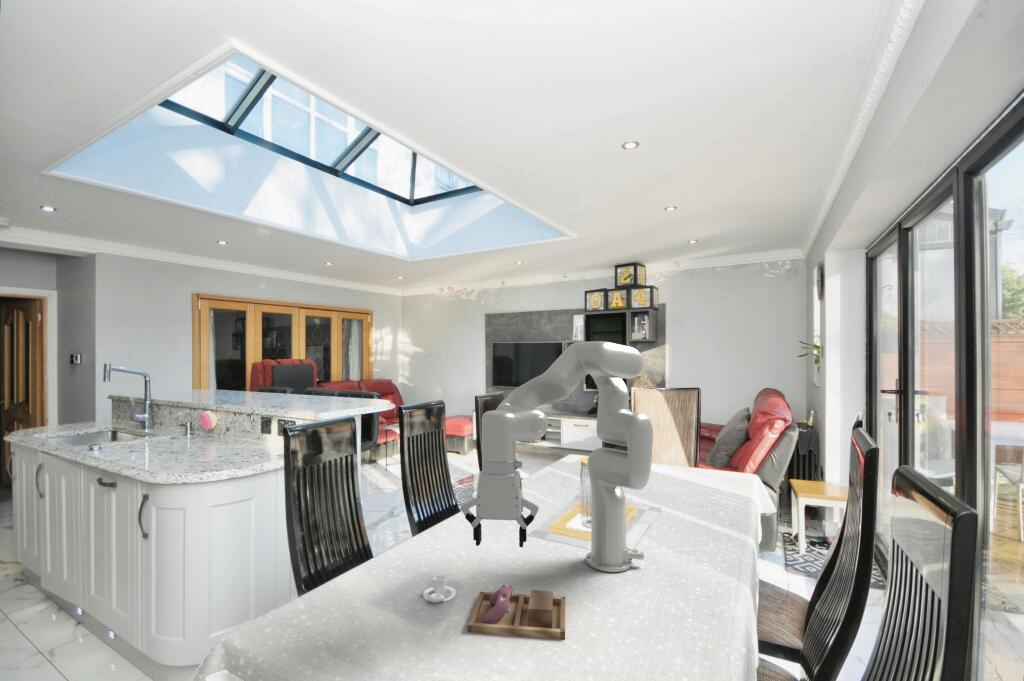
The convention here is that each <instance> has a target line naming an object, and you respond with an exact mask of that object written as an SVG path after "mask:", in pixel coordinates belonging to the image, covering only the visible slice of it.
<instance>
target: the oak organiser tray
mask: <svg viewBox="0 0 1024 681" xmlns="http://www.w3.org/2000/svg"><path fill="white" fill-rule="evenodd" d="M495 592H496V591H494V592H493V591H479V593H478V596H477V599H476V602H475V604H474V607H473V610H472V612H471V615H470V618H469V620H468V623H467V633H472V634H473V633H475V634H487V635H500V636H501V635H502V636H513V637H514V636H515V637H525V638H526V637H527V638H528V637H529V638H538V639H540V638H542V639H551V640H552V639H553V640H556V639H557V640H566V597H565V596H556V595H553V618H552V628H540V627H528V606H529V599H530V594H525V593H524V594H523V593H512V596H511V598H510V599H509V601H510V604H509V608H510V612H509V613H508V612H507V613H508V614H507V613H506V614H505V615H504V617H503V618H502V619H501V620H499V621H497V622H496V623H494V624H485V623H482V617H483V616H484V615H485V614H486V613H487V612H488V611H490V610H491V609H492V608H493V607H494V606H495V605H492V604H491V603H490V602H489V599H490V597H491V595H492V594H493V593H495Z"/></svg>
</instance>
